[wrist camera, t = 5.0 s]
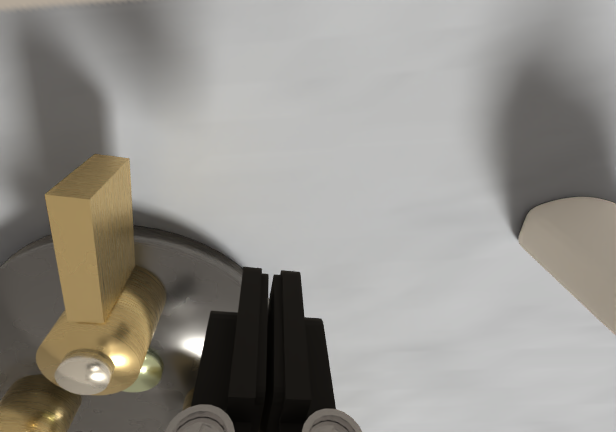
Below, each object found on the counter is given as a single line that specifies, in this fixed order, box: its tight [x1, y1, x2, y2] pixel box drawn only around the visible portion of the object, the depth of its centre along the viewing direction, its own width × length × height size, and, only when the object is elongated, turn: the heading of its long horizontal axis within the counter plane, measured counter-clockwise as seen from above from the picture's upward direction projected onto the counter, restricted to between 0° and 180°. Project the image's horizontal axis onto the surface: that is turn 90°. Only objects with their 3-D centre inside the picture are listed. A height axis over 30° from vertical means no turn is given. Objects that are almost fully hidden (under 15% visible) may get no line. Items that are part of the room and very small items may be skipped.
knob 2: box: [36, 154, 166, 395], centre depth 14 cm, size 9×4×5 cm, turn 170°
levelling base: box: [0, 226, 269, 432], centre depth 20 cm, size 16×16×2 cm
